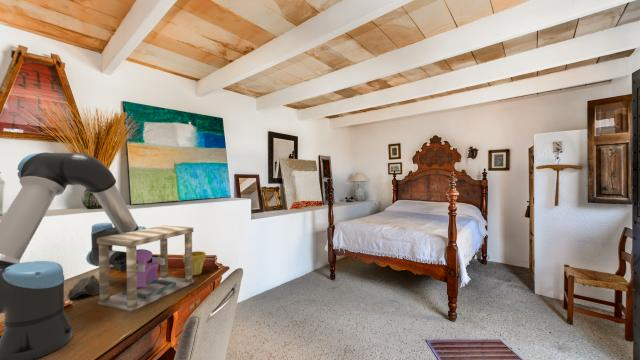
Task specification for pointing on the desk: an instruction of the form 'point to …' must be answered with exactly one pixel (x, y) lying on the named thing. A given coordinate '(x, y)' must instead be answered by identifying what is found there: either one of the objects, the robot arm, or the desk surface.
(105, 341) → the desk surface
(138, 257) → the toy chair
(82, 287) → the fossil
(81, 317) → the desk surface
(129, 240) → the canopy shelf
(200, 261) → the plant pot
